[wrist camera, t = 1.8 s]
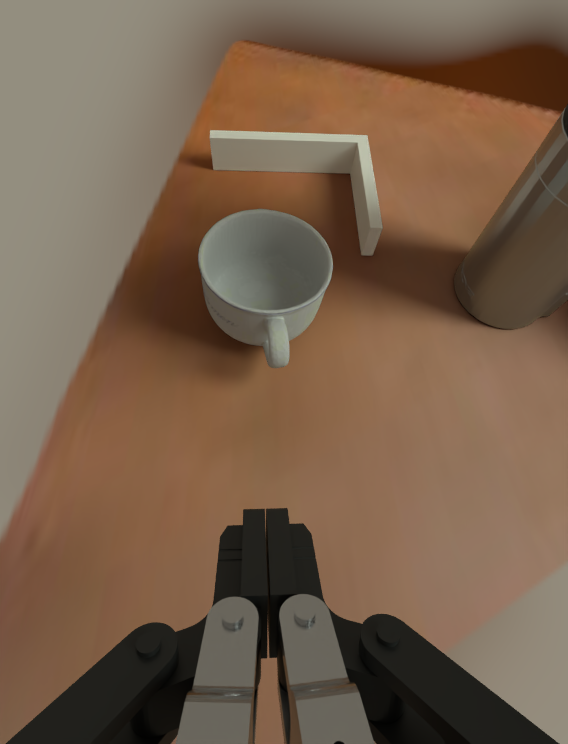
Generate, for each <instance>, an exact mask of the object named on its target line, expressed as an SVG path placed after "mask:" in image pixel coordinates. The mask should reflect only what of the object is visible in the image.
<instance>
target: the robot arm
mask: <svg viewBox="0 0 568 744" xmlns="http://www.w3.org/2000/svg"><path fill="white" fill-rule="evenodd" d="M454 287H455V292H456V294H457V297H458V299H459V301H460V302H461V304H462V305H463V307H464V308H465V309H466V310H467V311H468V312H469V313H470V314H471V315H473V316H474V317H475V318H477V319H478V320H480V321H482V322H484V323H486V324H488V325H491V326H494V327H497V328H503V329H517V328H522V327H525V326H527V325H529V324H531V323H533V322H534V321H535V320H536V319H537V318H539V317H542V316H550V315H551V314H552V313H553V312H554V311H555V310H556V309H558V308H559V307H560V306H561V305H562V304H563V303H565V302H566V301H567V300H568V105H567V106H566V108H565V109H564V111H563V112H562V114H561V115H560V117H559V118H558V120H557V121H556V123H555V124H554V126H553V127H552V129H551V130H550V132H549V133H548V135H547V136H546V138H545V139H544V141H543V142H542V144H541V145H540V147H539V148H538V150H537V151H536V153H535V154H534V156H533V157H532V159H531V160H530V162H529V163H528V165H527V166H526V168H525V169H524V171H523V172H522V174H521V175H520V177H519V178H518V180H517V181H516V183H515V184H514V186H513V187H512V189H511V190H510V192H509V193H508V195H507V196H506V197H505V199H504V200H503V202H502V203H501V205H500V206H499V208H498V209H497V211H496V212H495V214H494V215H493V217H492V218H491V220H490V221H489V223H488V224H487V226H486V227H485V229H484V230H483V232H482V233H481V235H480V236H479V238H478V239H477V241H476V242H475V244H474V245H473V247H472V248H471V250H470V251H469V253H468V254H467V256H466V257H465V259H464V260H463V261H462V263H461V264H460V266H459V267H458V269H457V272H456V274H455V278H454ZM267 625H268V631H269V658H276V657H277V666H278V695H279V703H280V712H281V720H282V728H283V736H284V744H374V741H375V742H376V743H377V744H559V743H557V742H556V741H555V740H554V739H552V738H551V737H550V736H549V735H547V734H546V733H545V732H543V731H542V730H541V729H540V728H538V727H537V726H536V725H534V724H533V723H532V722H531V721H529V720H528V719H527V718H525V717H524V716H523V715H521V714H520V713H519V712H518V711H517V710H515V709H514V708H513V707H511V706H510V705H509V704H508V703H506V702H505V701H504V700H502V699H501V698H500V697H499V696H497V695H496V694H495V693H493V692H492V691H490V689H488V688H487V687H486V686H485V685H483V684H482V683H480V682H479V681H478V680H477V679H476V678H474V677H473V676H472V675H470V674H469V673H468V672H466V671H465V670H464V669H463V668H461V667H460V666H459V665H458V664H456V663H455V662H454V661H453V660H451V659H450V658H449V657H447V656H446V655H445V654H444V653H442V652H441V651H440V650H438V649H437V648H436V647H435V646H433V645H432V644H431V643H429V642H428V641H427V640H426V639H424V638H423V637H422V636H421V635H419V634H418V633H417V632H415V631H414V630H413V629H412V628H410V627H409V626H408V625H406V624H405V623H404V622H403V621H401V620H400V619H398V618H396V617H394V616H391V615H387V614H376V615H372V616H370V617H369V618H367V619H366V620H365V621H364V622H363V624H361V623H357V622H353V621H349V620H346V619H343V618H341V617H339V616H337V615H336V614H334V613H333V612H332V611H331V610H330V609H329V608H328V607H327V605H326V604H325V601H324V599H323V595H322V590H321V584H320V579H319V573H318V568H317V562H316V559H315V552H314V546H313V541H312V535H311V533H310V532H309V530H308V529H307V528H306V527H305V525H304V524H289V517H288V509H287V508H278V509H266V533H265V509H244V510H243V525H233V526H227V527H226V529H225V530H224V532H223V533H222V535H221V536H220V544H219V553H218V563H217V573H216V582H215V592H214V601H213V605H212V608H211V609H210V611H209V613H208V614H207V616H206V617H205V618H204V619H203V620H201V621H200V622H199V623H197V624H195V625H193V626H191V627H189V628H186V629H183V630H180V631H177V632H175V631H174V630H173V629H172V628H171V627H170V626H168V625H166V624H164V623H148V624H145V625H142V626H140V627H138V628H137V629H135V630H134V631H132V632H131V633H130V634H129V635H128V636H127V637H126V638H124V639H123V640H122V641H121V642H120V643H119V644H118V645H116V646H115V647H114V648H113V649H112V650H111V651H110V652H109V653H107V654H106V655H105V656H104V657H103V658H102V659H101V660H100V661H98V662H97V663H96V664H95V665H94V666H93V667H92V668H91V669H89V670H88V671H87V672H86V673H85V674H84V675H83V676H81V677H80V678H79V679H78V680H77V681H76V682H75V683H74V684H72V685H71V686H70V687H69V688H68V689H67V690H66V691H65V692H63V693H62V694H61V695H60V696H59V697H58V698H57V699H56V700H54V701H53V702H52V703H51V704H50V705H49V706H48V707H46V708H45V709H44V710H43V711H42V712H41V713H40V714H39V715H37V716H36V717H35V718H34V719H33V720H32V721H31V722H30V723H28V724H27V725H26V726H25V727H24V728H23V729H22V730H21V731H19V732H18V733H17V734H16V735H15V736H14V737H13V738H11V739H10V740H9V741H8V742H7V743H6V744H171V742H172V741H173V740H174V739H175V738H176V736H177V735H178V736H177V740H176V744H255V736H256V719H257V703H258V685H259V683H260V679H261V658H267ZM373 740H374V741H373Z"/></svg>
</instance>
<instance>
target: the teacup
mask: <svg viewBox="0 0 568 744" xmlns="http://www.w3.org/2000/svg"><path fill="white" fill-rule="evenodd" d="M198 265H199V269H200V273H201V277H202V285H203V292H204V297H205V301H206V305H207V308H208V310H209V313H210V315H211V316H212V318H213V320H214V321H215V323H216V324H217V325H218V326H219V327H220V328H221V329H222V330H223V331H224V332H225V333H227V334H228V335H229V336H231V337H232V338H234V339H236V340H238V341H241V342H243V343H246V344H251V345H256V346H263V349H264V351H265V356H266V360H267V363H268V365H269V366H270V367H272V368H280V367H284V366H286V365H287V364H288V362H289V341H290V340H292V339H294V338H295V337H297V336H298V335H300V334H301V333H302V332H303V331H304V330H305V329H306V328H307V327H308V326H309V325H310V323H311V322H312V321H313V319H314V317H315V315H316V313H317V311H318V309H319V306H320V304H321V301H322V299H323V296H324V293H325V290H326V289H327V287H328V285H329V283H330V280H331V277H332V270H333V260H332V255H331V252H330V249H329V247H328V245H327V243H326V241H325V240H324V239H323V237H322V236H321V235H320V234H319V233H318V231H317V230H315V229H314V228H313V227H312V226H311V225H309V224H308V223H306V222H305V221H303V220H301V219H299V218H297V217H295V216H292V215H290V214H287V213H283V212H279V211H274V210H267V209H256V210H246V211H241V212H238V213H234V214H231V215H229V216H227V217H225V218H223V219H221V220H220V221H218V222H217V223H216V224H215V225H214V226H212V227H211V228H210V230H209V231H208V232H207V233H206V235H205V236H204V238H203V240H202V242H201V244H200V248H199V254H198Z"/></svg>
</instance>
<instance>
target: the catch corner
mask: <svg viewBox="0 0 568 744" xmlns="http://www.w3.org/2000/svg"><path fill="white" fill-rule="evenodd" d="M210 144H211V153H212V162H213V170H233V171H271V172H308V173H346V174H350V176H351V183H352V191H353V198H354V205H355V213H356V220H357V227H358V235H359V242H360V250H361V255H365V256H373V253H374V250H375V248H376V245H377V242H378V240H379V237H380V234H381V231H382V229H383V226H382V220H381V214H380V208H379V202H378V196H377V190H376V184H375V179H374V173H373V167H372V161H371V155H370V149H369V143H368V137H367V135H342V134H311V133H281V132H250V131H220V130H210Z"/></svg>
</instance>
